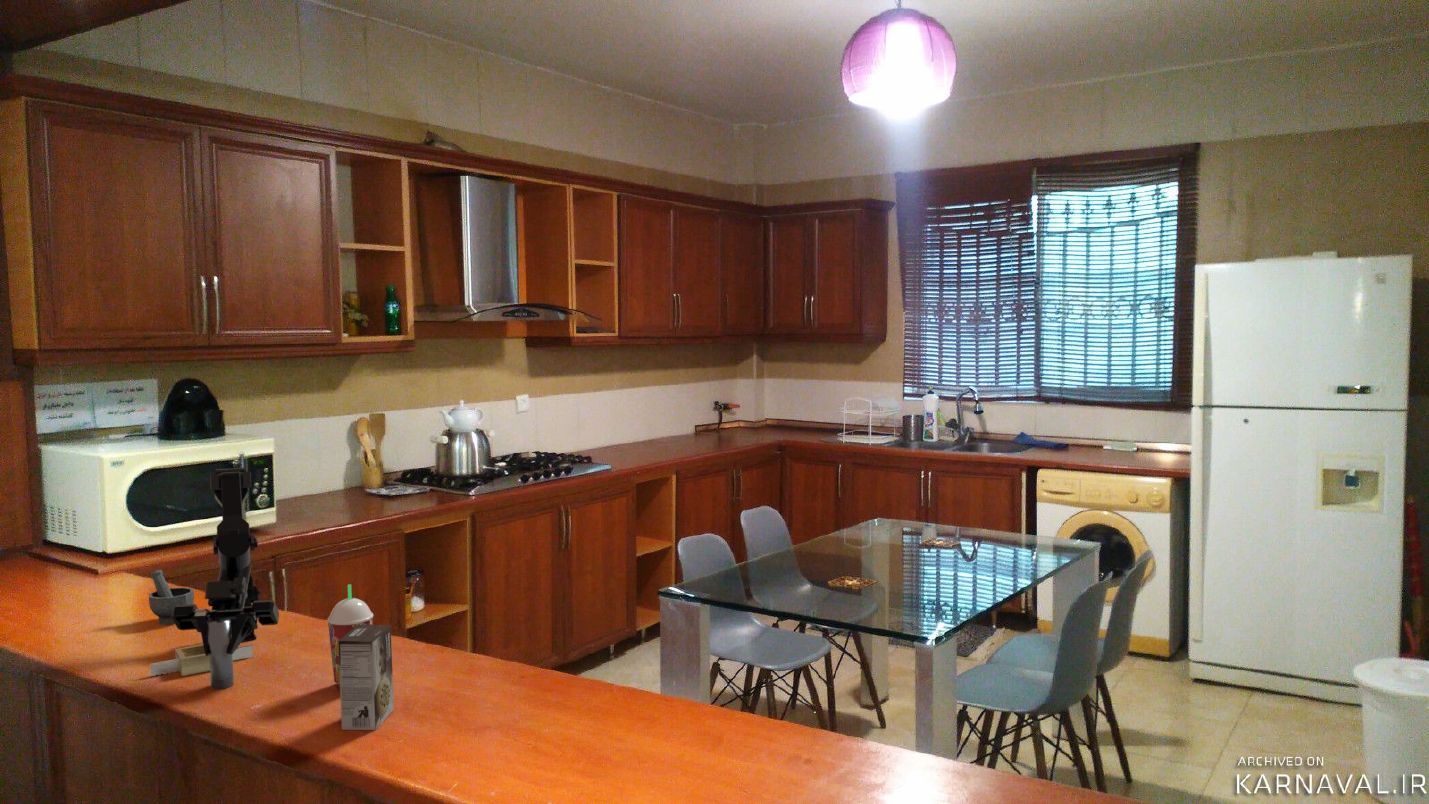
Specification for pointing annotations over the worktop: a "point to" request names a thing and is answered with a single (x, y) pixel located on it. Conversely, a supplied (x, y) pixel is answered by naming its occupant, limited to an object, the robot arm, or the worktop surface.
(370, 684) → the coffee box
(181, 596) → the mortar and pestle
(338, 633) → the smoothie
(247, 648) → the bracket
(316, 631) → the worktop surface
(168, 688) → the worktop surface
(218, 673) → the hinge pin
